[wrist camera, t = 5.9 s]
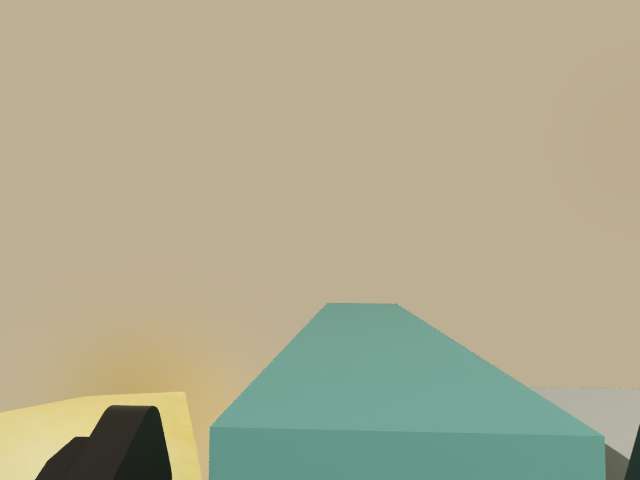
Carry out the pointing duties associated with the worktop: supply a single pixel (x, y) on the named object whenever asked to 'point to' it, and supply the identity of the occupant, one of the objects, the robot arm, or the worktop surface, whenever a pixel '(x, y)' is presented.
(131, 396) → the worktop surface
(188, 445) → the worktop surface
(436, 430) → the teal block
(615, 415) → the grey stand
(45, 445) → the worktop surface
